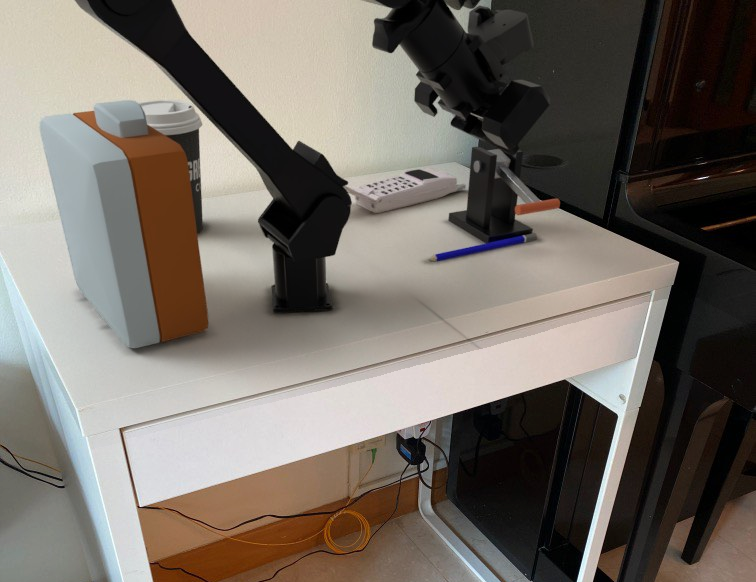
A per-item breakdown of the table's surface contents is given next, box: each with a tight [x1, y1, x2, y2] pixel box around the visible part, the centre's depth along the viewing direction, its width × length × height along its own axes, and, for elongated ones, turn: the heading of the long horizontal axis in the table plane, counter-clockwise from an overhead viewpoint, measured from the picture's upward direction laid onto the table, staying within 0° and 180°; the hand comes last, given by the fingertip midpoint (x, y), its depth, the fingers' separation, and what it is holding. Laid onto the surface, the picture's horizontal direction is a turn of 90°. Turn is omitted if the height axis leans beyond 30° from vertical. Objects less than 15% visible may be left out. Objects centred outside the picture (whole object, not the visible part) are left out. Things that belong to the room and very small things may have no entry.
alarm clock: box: [39, 99, 209, 349], centre depth 79 cm, size 18×9×21 cm, turn 33°
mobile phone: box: [343, 168, 467, 214], centre depth 113 cm, size 6×6×25 cm
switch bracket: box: [448, 146, 534, 244], centre depth 104 cm, size 10×7×10 cm
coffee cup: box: [137, 99, 204, 235], centre depth 101 cm, size 10×10×15 cm
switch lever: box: [486, 148, 561, 216], centre depth 99 cm, size 12×6×2 cm, turn 27°
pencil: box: [427, 232, 538, 262], centre depth 101 cm, size 17×1×1 cm, turn 120°
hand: (514, 151), depth 91 cm, fingers closed
